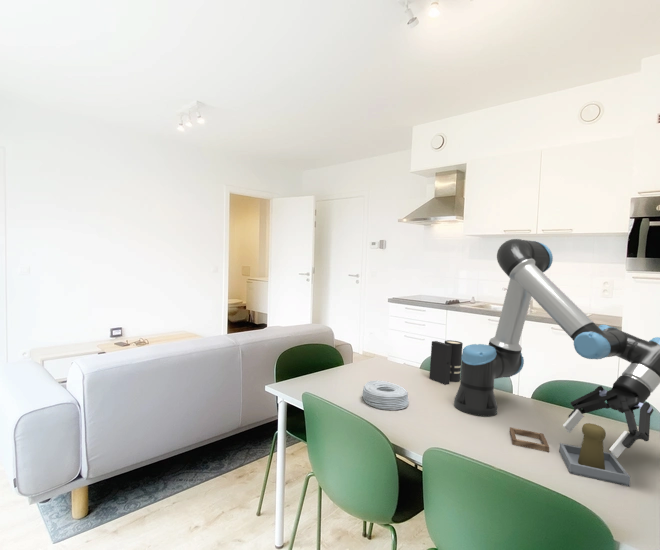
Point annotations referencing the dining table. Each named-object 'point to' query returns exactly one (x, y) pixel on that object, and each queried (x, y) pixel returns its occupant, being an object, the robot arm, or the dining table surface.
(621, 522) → the dining table surface
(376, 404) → the cable
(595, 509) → the dining table surface
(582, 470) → the tray
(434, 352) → the light fixture
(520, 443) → the socket holder
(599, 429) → the cork
